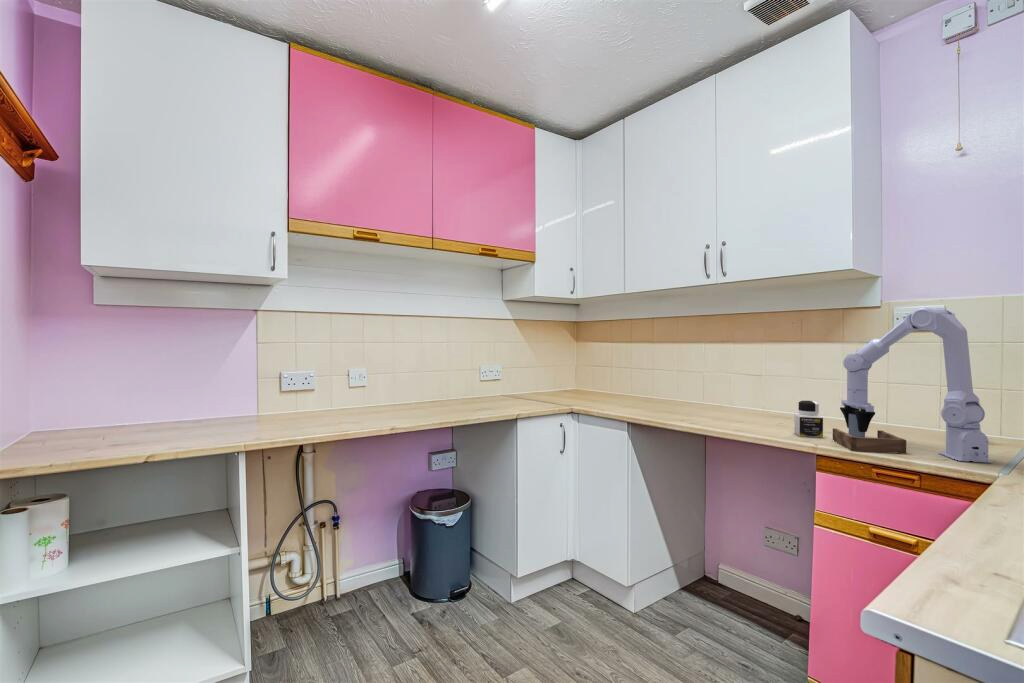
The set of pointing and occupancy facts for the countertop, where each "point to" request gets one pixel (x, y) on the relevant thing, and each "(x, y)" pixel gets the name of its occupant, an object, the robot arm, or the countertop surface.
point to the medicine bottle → (808, 420)
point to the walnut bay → (871, 442)
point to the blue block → (854, 427)
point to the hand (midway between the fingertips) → (856, 430)
